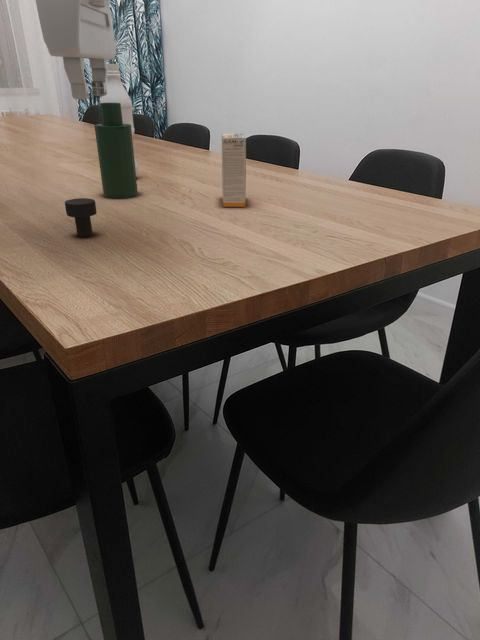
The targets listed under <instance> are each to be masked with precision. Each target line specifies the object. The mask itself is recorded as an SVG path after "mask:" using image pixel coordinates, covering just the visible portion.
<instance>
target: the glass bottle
mask: <svg viewBox="0 0 480 640" xmlns="http://www.w3.org/2000/svg"><path fill="white" fill-rule="evenodd" d="M99 110H100V117H101V118H100V119H101V123H96V124H94V133H95V141H96V148H97V156H98V163H99V170H100V178H101V185H102V192H103V197H105V198H108V199H118V200H119V199H130V198H134V197H137V196H138V195H139V193H138V192H139V191H138V182H137V181H138V180H137V177H136V170H135V160H134V157H135V152H134V143H133V141H134V140H133V141H132V131H131V125H130V124H123V121H122V111H121V103H101V102H100V103H99Z"/></svg>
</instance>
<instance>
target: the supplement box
mask: <svg viewBox="0 0 480 640" xmlns="http://www.w3.org/2000/svg"><path fill="white" fill-rule="evenodd" d="M221 187H222V189H221V191H222V194H221V195H222V206H223V207H225V208H226V207H227V208H235V207H236V208H240V207H242V208H245V207H246V202H247V201H246V200H247V199H246V198H247V197H246V193H247V192H246V189H247V139H246V135H245V134H244V133H221Z"/></svg>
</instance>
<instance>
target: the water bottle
mask: <svg viewBox="0 0 480 640" xmlns="http://www.w3.org/2000/svg"><path fill="white" fill-rule="evenodd" d="M121 77H122V74H121V72H120V65H119V63H107V79H106V87H107V95H105V96H100V97H101V98H100V103H121V111H122V121H123V124H130V125H131V131H132V141H134V135H135V125H134V115H133V104H132V100H131V97H130V95H129V94H128V91H127V90H126V88H125V86H124V85H123V82H122V79H121ZM134 160H135V170H136V178H137V176H138V174H139V164H138V162H137V160H136V157H135V156H134Z"/></svg>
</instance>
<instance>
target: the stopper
mask: <svg viewBox="0 0 480 640" xmlns="http://www.w3.org/2000/svg"><path fill="white" fill-rule="evenodd" d="M64 206H65V212H66V216H67V217H69V218H74V222H75V230H76V234H77V237H79V238H89V237H90V238H91V237H92V236H93V235H94V234H93V233H94V232H93V226H92V221H91V217H93V216H95V215H97V213H98V212H97V205H96V200H95V199H93V198H87V197H77V198H70V199H67V200H65V201H64Z"/></svg>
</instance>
